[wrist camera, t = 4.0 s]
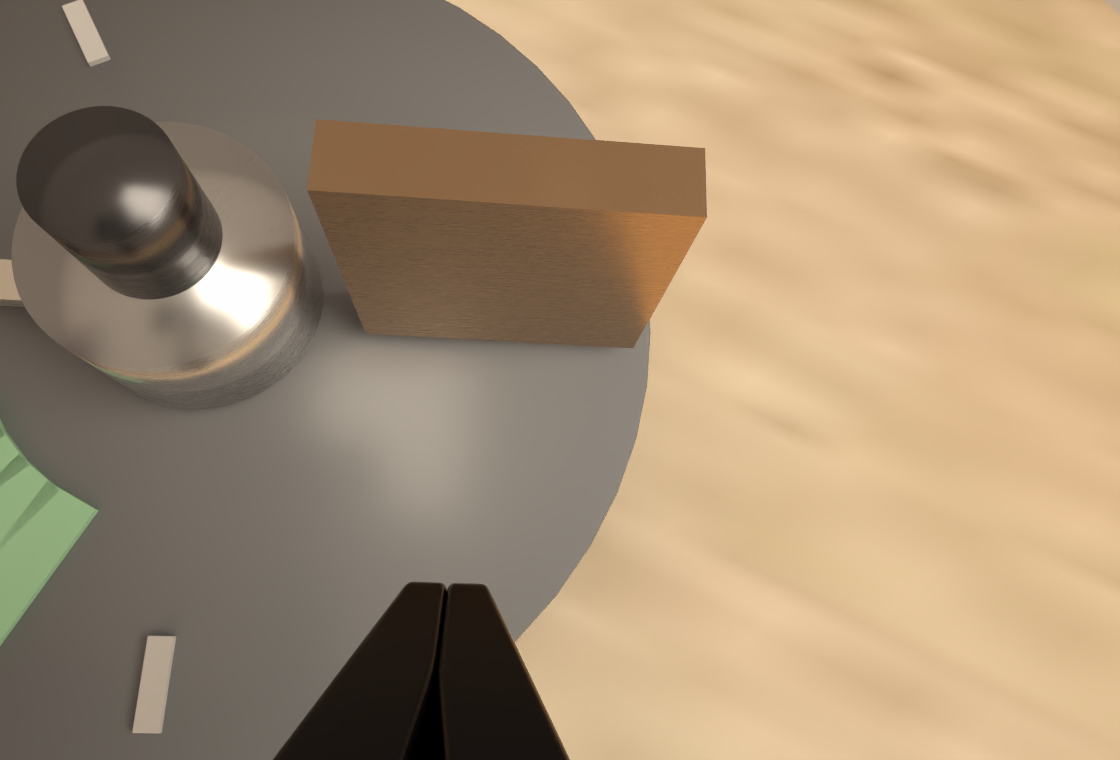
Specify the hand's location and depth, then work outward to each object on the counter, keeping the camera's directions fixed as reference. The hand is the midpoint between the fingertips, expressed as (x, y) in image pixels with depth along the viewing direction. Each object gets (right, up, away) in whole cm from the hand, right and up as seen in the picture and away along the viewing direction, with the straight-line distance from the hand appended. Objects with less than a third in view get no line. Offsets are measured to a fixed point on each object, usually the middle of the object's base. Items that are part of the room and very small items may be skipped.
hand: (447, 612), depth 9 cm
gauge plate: (-7, +4, +11) cm, 13 cm away
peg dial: (-7, +4, +9) cm, 12 cm away
